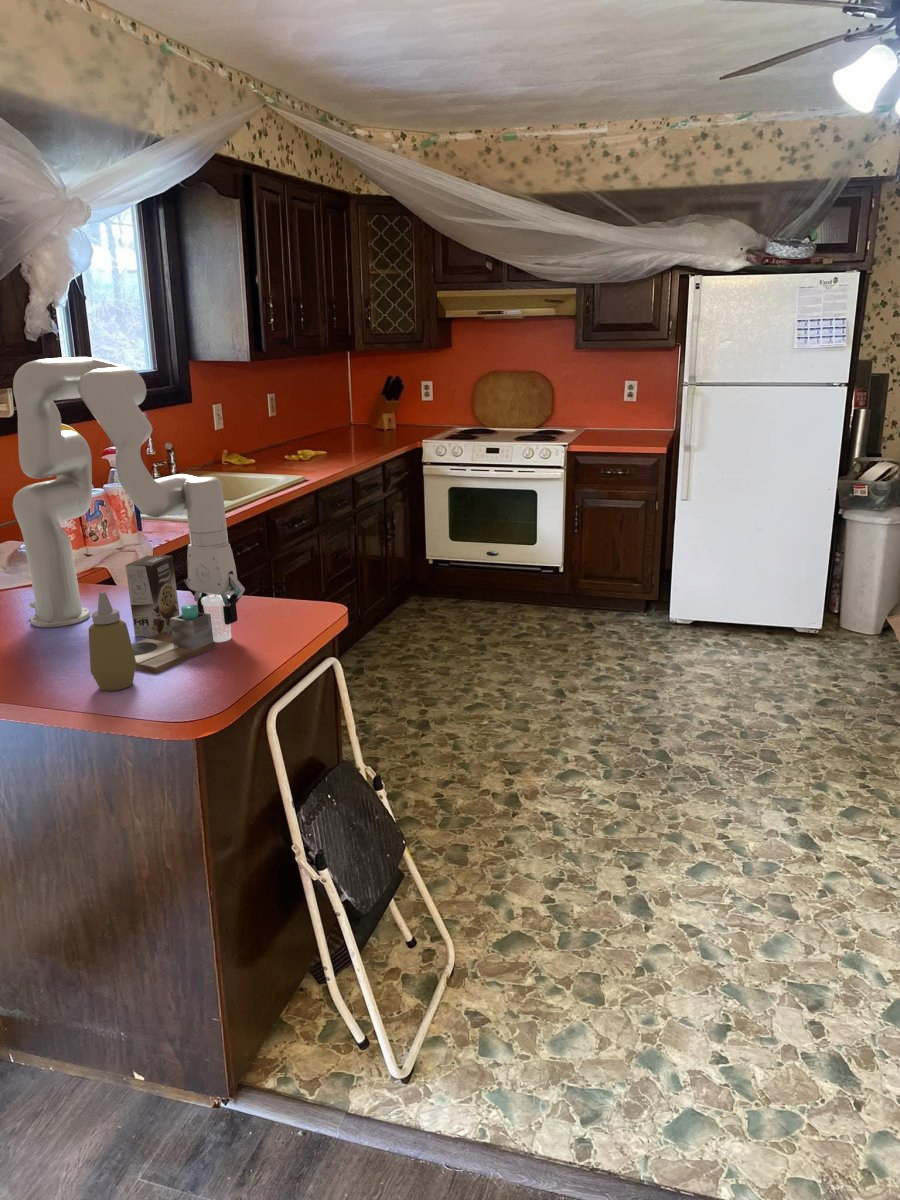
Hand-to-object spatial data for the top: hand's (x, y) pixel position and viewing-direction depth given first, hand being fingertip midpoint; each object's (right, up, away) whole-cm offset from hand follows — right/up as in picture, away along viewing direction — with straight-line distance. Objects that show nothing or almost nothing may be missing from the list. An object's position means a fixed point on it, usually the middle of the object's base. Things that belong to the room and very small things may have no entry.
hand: (218, 619), depth 189 cm
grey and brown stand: (-10, -7, -7) cm, 14 cm away
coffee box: (-15, -3, +8) cm, 17 cm away
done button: (-4, 0, -7) cm, 8 cm away
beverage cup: (0, -4, +1) cm, 4 cm away
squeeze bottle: (-13, -12, -22) cm, 29 cm away
